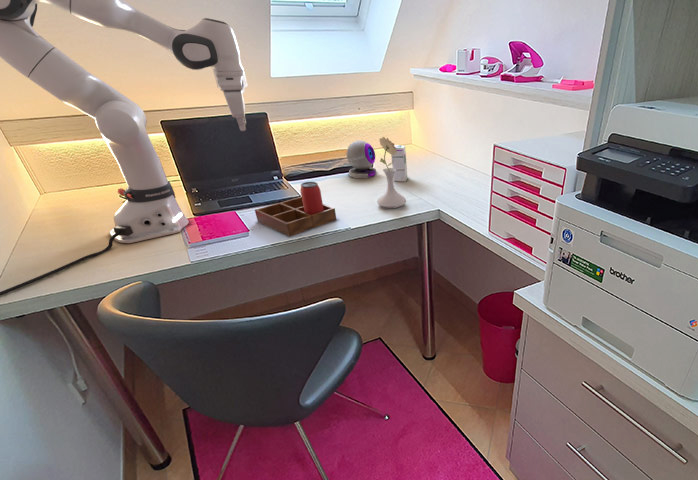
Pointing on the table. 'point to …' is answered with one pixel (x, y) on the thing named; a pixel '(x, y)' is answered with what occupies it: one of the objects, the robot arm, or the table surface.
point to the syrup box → (399, 164)
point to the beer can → (311, 198)
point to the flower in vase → (390, 180)
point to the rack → (293, 217)
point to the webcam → (361, 159)
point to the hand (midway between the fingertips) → (243, 127)
